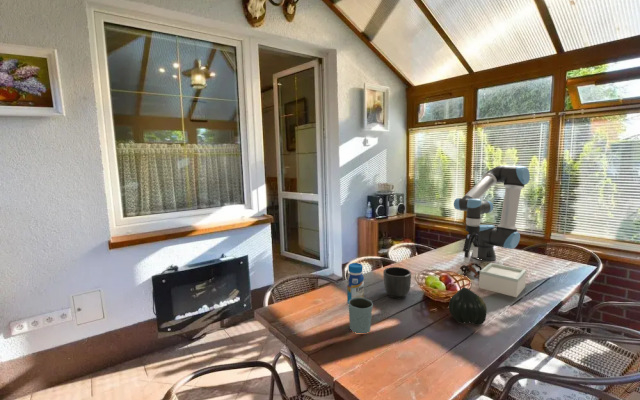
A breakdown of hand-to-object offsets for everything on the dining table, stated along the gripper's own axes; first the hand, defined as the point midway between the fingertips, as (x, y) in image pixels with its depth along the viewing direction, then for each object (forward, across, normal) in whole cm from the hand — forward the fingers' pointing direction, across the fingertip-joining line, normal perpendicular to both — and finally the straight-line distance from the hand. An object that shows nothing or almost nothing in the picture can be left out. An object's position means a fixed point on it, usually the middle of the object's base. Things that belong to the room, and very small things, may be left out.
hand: (470, 259), depth 191 cm
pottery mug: (+10, -1, 0) cm, 10 cm away
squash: (+11, +55, +18) cm, 59 cm away
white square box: (+10, +6, +19) cm, 22 cm away
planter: (+11, +53, -18) cm, 57 cm away
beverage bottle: (+11, +75, -28) cm, 81 cm away
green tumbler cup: (+12, +92, -12) cm, 94 cm away
